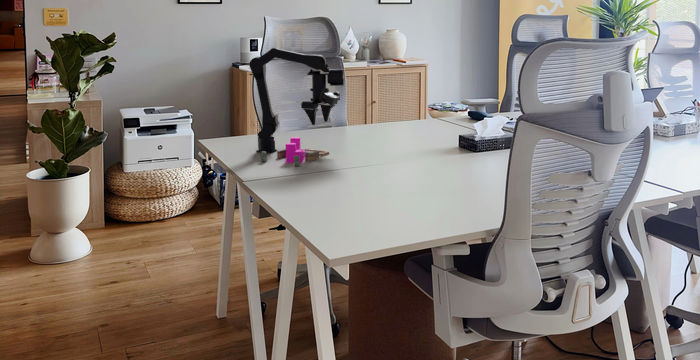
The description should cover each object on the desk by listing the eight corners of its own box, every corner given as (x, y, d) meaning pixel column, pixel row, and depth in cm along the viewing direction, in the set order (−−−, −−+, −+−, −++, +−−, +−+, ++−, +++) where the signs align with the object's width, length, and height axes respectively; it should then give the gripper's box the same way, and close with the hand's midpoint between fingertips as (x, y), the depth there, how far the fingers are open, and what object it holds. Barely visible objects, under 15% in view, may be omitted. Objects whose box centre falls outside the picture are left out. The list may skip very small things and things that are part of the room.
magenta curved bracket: (301, 163, 287) (301, 144, 285) (286, 163, 287) (285, 144, 285) (306, 155, 301) (306, 137, 299) (291, 155, 302) (291, 137, 300)
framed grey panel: (260, 162, 288) (260, 152, 287) (300, 150, 311) (299, 141, 310) (297, 167, 279) (297, 156, 278) (335, 154, 301) (335, 145, 300)
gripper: (322, 89, 289) (323, 128, 293) (347, 84, 305) (348, 121, 308) (299, 87, 295) (300, 126, 299) (325, 83, 310) (325, 119, 314)
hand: (319, 123), depth 305 cm, fingers open, 9 cm apart
